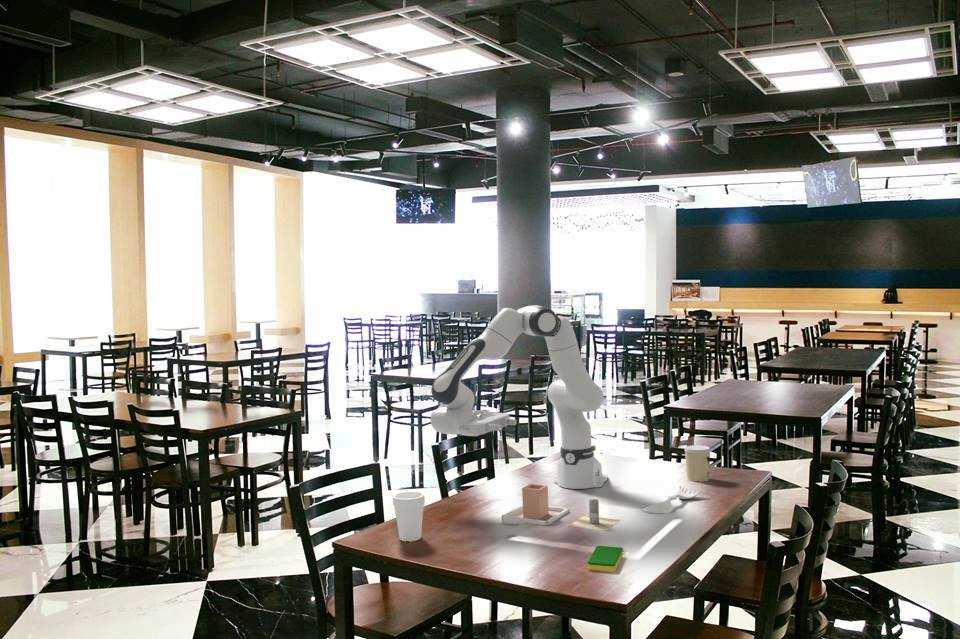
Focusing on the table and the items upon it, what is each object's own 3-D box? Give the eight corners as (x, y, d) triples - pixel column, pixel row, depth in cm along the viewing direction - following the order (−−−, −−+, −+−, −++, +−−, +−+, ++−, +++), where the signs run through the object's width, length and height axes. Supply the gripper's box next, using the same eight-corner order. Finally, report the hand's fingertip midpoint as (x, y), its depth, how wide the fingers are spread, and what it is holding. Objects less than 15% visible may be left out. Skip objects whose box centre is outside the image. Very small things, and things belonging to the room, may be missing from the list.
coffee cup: (714, 482, 286) (713, 449, 285) (688, 482, 286) (687, 450, 285) (707, 476, 295) (706, 444, 295) (682, 476, 295) (681, 445, 295)
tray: (525, 510, 257) (525, 503, 257) (569, 516, 249) (569, 508, 249) (501, 523, 244) (501, 515, 243) (547, 530, 235) (547, 522, 235)
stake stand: (584, 520, 244) (583, 493, 244) (620, 524, 238) (619, 497, 238) (568, 530, 234) (567, 502, 234) (605, 536, 228) (604, 507, 227)
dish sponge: (587, 571, 201) (587, 562, 201) (597, 553, 214) (596, 545, 214) (614, 573, 199) (614, 564, 199) (623, 555, 212) (622, 547, 212)
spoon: (704, 497, 266) (704, 487, 266) (663, 521, 241) (663, 510, 241) (680, 494, 272) (679, 484, 272) (637, 516, 247) (636, 505, 247)
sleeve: (531, 514, 250) (530, 483, 250) (548, 516, 247) (547, 485, 247) (523, 519, 245) (522, 488, 245) (540, 521, 242) (539, 490, 242)
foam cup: (399, 545, 226) (398, 501, 226) (390, 536, 235) (388, 493, 234) (430, 539, 230) (428, 496, 229) (420, 531, 238) (418, 489, 238)
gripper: (456, 419, 255) (492, 421, 247) (487, 409, 272) (522, 410, 265) (457, 438, 255) (493, 440, 248) (488, 426, 272) (523, 428, 265)
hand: (508, 425), depth 256 cm, fingers open, 8 cm apart
